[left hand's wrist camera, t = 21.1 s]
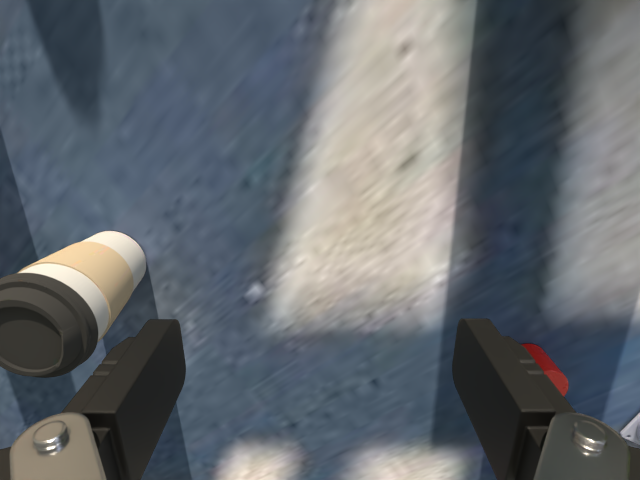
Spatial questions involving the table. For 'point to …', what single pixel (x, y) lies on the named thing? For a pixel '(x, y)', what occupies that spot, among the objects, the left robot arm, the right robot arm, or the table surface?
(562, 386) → the canister
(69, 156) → the table surface
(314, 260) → the table surface
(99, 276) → the coffee cup
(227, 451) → the table surface
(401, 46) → the table surface
